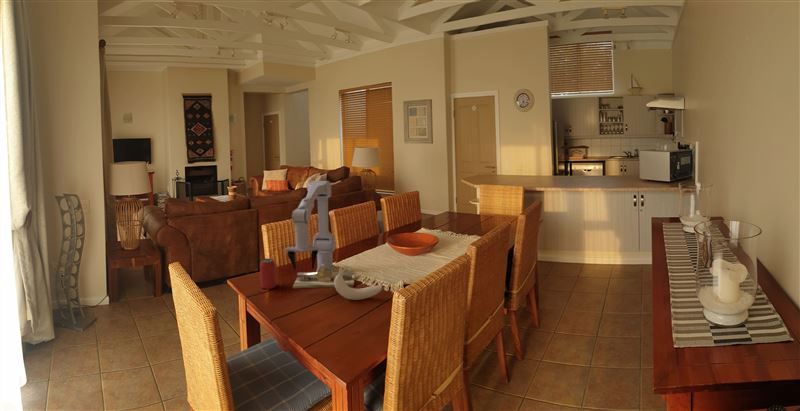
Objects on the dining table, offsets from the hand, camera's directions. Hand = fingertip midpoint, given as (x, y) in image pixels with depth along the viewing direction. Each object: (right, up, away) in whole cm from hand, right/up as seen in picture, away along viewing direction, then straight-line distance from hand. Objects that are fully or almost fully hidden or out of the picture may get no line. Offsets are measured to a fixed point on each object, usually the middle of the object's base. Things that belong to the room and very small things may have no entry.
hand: (303, 268), depth 203 cm
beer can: (-17, -9, +6) cm, 20 cm away
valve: (+7, -6, +11) cm, 14 cm away
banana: (+24, -11, -10) cm, 29 cm away
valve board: (+7, -8, +11) cm, 15 cm away
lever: (+7, -2, +4) cm, 9 cm away
